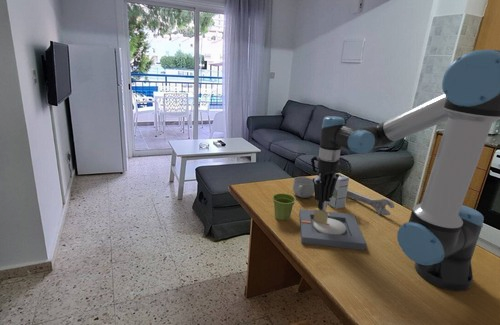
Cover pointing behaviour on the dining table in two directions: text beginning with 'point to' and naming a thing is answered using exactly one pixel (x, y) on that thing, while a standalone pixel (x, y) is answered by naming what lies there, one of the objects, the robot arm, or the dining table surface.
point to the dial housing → (347, 240)
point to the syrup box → (339, 192)
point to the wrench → (372, 202)
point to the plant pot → (283, 205)
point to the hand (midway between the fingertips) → (321, 215)
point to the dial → (327, 223)
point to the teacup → (303, 187)
